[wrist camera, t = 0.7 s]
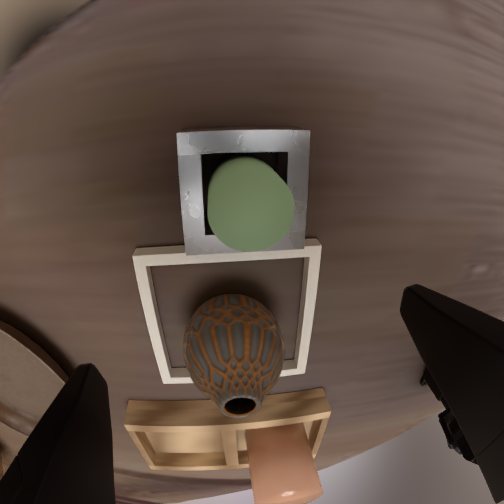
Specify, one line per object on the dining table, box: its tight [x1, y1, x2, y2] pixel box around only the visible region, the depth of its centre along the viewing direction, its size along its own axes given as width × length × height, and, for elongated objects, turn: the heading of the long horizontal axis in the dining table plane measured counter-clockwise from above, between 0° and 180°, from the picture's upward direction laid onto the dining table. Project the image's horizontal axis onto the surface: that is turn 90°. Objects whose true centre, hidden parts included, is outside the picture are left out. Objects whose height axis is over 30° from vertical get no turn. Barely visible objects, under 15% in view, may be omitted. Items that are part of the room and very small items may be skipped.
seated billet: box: [245, 422, 323, 504], centre depth 26 cm, size 7×7×9 cm
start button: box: [207, 154, 295, 252], centre depth 16 cm, size 4×4×4 cm
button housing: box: [177, 126, 310, 256], centre depth 18 cm, size 7×7×3 cm
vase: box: [183, 294, 285, 418], centre depth 20 cm, size 7×7×9 cm
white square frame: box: [132, 238, 322, 384], centre depth 24 cm, size 13×13×1 cm
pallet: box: [124, 388, 331, 470], centre depth 30 cm, size 20×11×3 cm, turn 90°
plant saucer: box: [0, 321, 69, 437], centre depth 24 cm, size 21×21×3 cm
